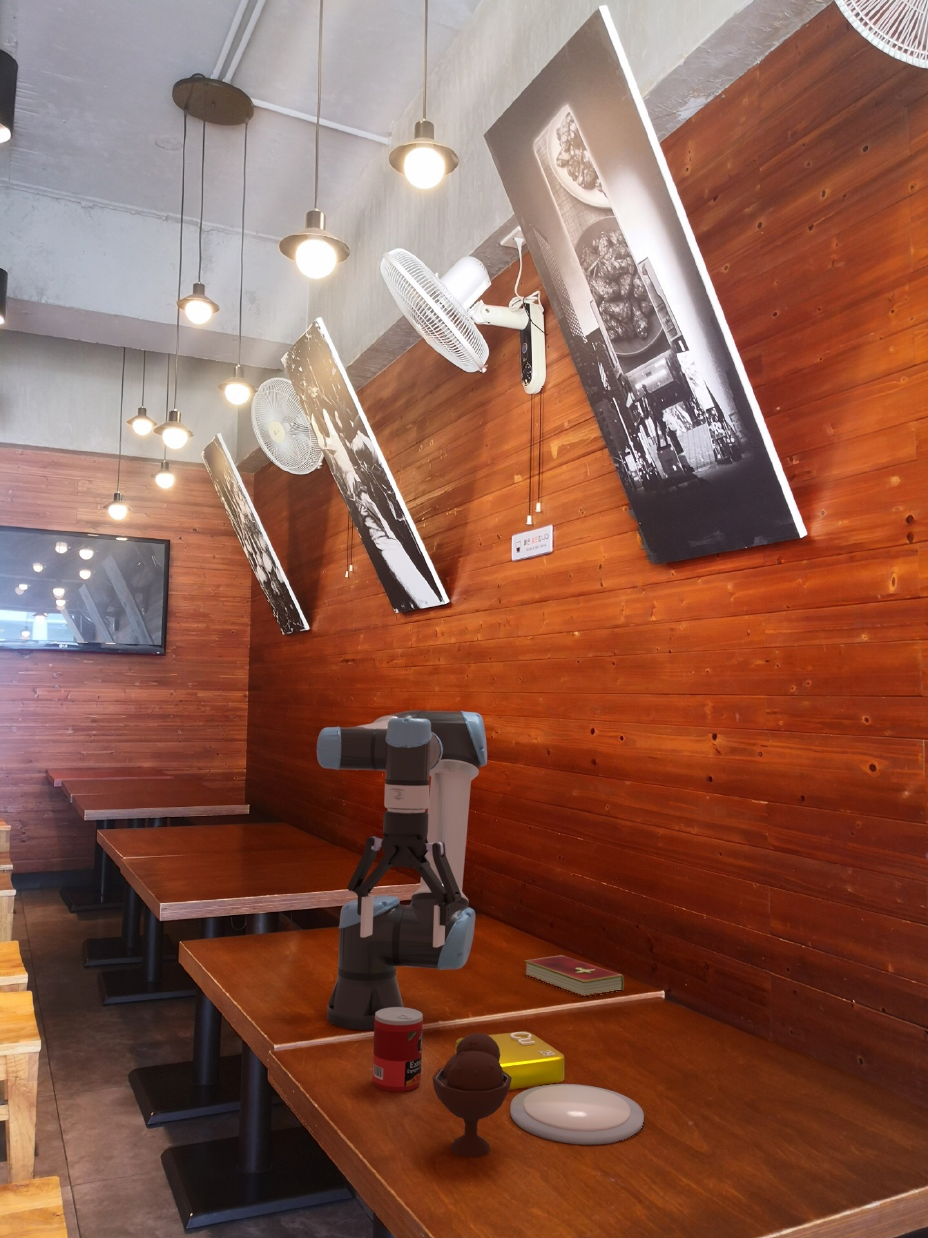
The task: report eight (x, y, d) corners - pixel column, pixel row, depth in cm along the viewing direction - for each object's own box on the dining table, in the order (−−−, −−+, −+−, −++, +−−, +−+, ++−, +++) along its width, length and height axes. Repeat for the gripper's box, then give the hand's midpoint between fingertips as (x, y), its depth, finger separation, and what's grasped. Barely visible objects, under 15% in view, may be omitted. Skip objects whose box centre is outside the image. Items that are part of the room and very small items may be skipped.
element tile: (451, 1064, 167) (451, 1035, 167) (528, 1055, 173) (528, 1027, 173) (486, 1095, 153) (487, 1064, 154) (568, 1084, 159) (569, 1054, 159)
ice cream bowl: (428, 1132, 138) (431, 1024, 139) (505, 1132, 139) (507, 1024, 140) (432, 1167, 127) (435, 1049, 129) (515, 1166, 128) (517, 1049, 130)
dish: (489, 1126, 140) (489, 1116, 140) (537, 1082, 158) (538, 1072, 158) (622, 1156, 132) (623, 1144, 132) (657, 1105, 150) (657, 1095, 150)
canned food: (414, 1095, 151) (416, 1023, 153) (366, 1090, 153) (368, 1018, 154) (426, 1078, 159) (428, 1009, 160) (379, 1073, 160) (382, 1005, 162)
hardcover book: (562, 971, 232) (563, 953, 232) (623, 993, 215) (624, 973, 215) (523, 978, 225) (524, 959, 226) (583, 1000, 208) (584, 980, 209)
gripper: (331, 807, 163) (325, 936, 160) (464, 816, 152) (460, 954, 150) (354, 804, 169) (349, 928, 167) (483, 813, 159) (480, 945, 156)
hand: (401, 941), depth 158 cm, fingers open, 13 cm apart
